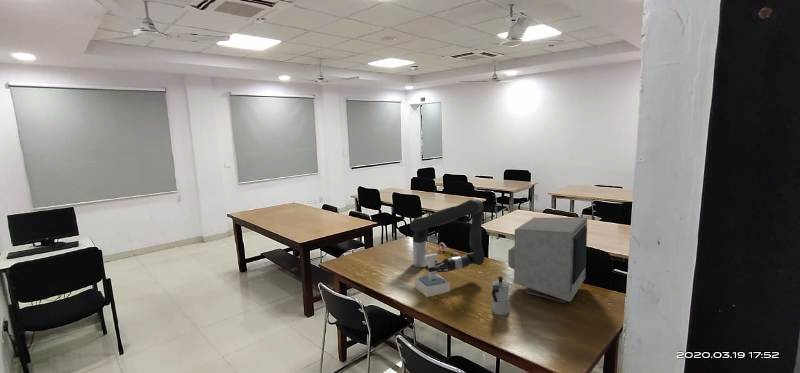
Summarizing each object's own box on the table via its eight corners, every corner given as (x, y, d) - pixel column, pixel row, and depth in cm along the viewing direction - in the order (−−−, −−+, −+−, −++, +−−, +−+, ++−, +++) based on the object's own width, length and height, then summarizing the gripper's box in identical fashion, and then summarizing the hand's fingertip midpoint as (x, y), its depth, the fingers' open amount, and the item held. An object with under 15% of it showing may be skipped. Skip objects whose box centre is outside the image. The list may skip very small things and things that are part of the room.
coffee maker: (497, 304, 192) (497, 271, 190) (514, 308, 187) (514, 274, 184) (484, 315, 181) (484, 280, 179) (501, 320, 176) (501, 284, 173)
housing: (414, 287, 218) (414, 278, 217) (437, 282, 224) (436, 273, 223) (427, 297, 204) (426, 288, 203) (450, 291, 210) (450, 282, 209)
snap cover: (419, 280, 216) (418, 253, 214) (435, 277, 220) (434, 250, 218) (428, 287, 206) (427, 259, 204) (445, 283, 211) (444, 256, 208)
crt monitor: (573, 312, 181) (575, 233, 175) (500, 294, 204) (500, 223, 198) (587, 287, 209) (590, 217, 203) (522, 273, 231) (522, 211, 225)
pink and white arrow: (458, 260, 268) (438, 250, 283) (459, 259, 269) (439, 249, 283) (459, 251, 267) (439, 241, 281) (460, 251, 267) (440, 241, 282)
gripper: (446, 254, 224) (421, 259, 217) (459, 261, 211) (432, 266, 204) (446, 265, 225) (421, 271, 218) (459, 273, 212) (433, 279, 205)
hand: (427, 269), depth 211 cm, fingers closed on snap cover, 3 cm apart
